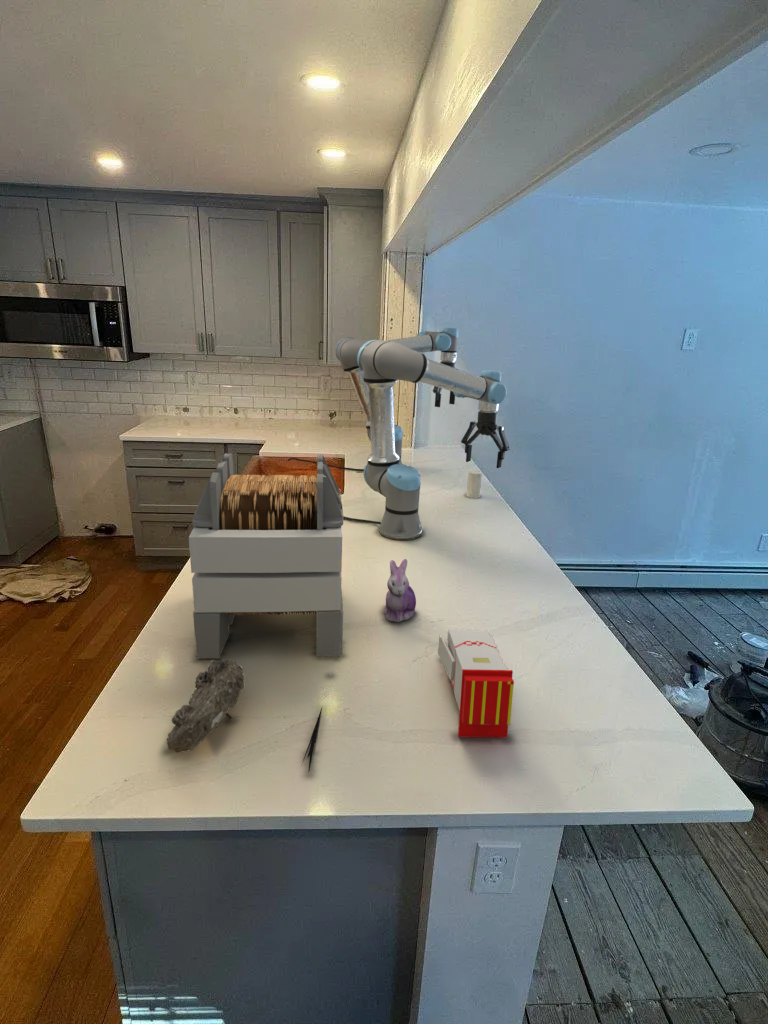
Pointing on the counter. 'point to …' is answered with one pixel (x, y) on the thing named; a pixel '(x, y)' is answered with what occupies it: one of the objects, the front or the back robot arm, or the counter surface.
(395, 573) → the figurine
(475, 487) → the canister
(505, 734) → the toy
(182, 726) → the fossil
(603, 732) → the counter surface
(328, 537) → the transformer
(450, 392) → the back robot arm
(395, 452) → the front robot arm
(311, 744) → the feather
